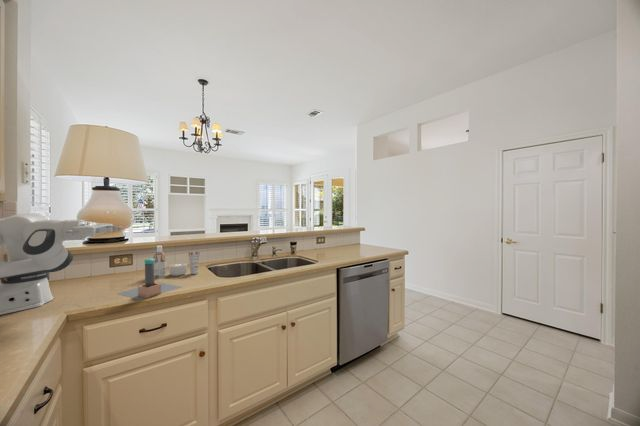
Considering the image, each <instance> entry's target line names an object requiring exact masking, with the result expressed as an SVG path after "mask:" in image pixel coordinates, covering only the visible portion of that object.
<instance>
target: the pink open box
mask: <svg viewBox="0 0 640 426" xmlns="http://www.w3.org/2000/svg"><path fill="white" fill-rule="evenodd" d="M137 288H138V296H141V297H145V298H146V299H148V297H149V298H152V297H155V296H159V295H162V294H161V284H159V283H158V282H154V286H150V287H145V283H144V284H140V285H138V286H137ZM154 295H155V296H154ZM151 296H152V297H151Z"/></svg>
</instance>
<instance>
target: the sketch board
mask: <svg viewBox="0 0 640 426" xmlns="http://www.w3.org/2000/svg"><path fill="white" fill-rule="evenodd" d="M157 283H159V284H161V294H160V295H162V294H164V293H168V292H170V291H174V290H178V289H180V288H182V286H181V285H175V284H171V283H166V282H161V281H159V282H157ZM117 294H118V295H121V296H124V297H128V298H132V299H134V300H139V301H143V300H146V299H148V298H152V297H155V296H156V295H154V296H151V297H148V298H145V297H141V296H138V287H137V288H132V289H128V290H125V291H121V292H118V293H117Z"/></svg>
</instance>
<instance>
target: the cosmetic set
mask: <svg viewBox="0 0 640 426" xmlns="http://www.w3.org/2000/svg"><path fill="white" fill-rule="evenodd" d="M187 253H188V259H189V269H190V270H189V271H190V275H197V274H198V273H199V259H200V253H201V250H189V251H187ZM152 259H154V262H155V263H154V278H164V277H166V276H167V256H166V254H165V253H164V251H163V246H162V245H157V246H156V252H155V254H154V256H153V258H152ZM168 267H169V270H168V271H169V274H170V275H171V276H173V277H175V276H176V277H179V276H184V275H185V274H186V273H187V270H188V264H187V263H186V262H185V263H183V262H180V263H172V264H170V265H169V266H168Z"/></svg>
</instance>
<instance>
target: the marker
mask: <svg viewBox="0 0 640 426" xmlns="http://www.w3.org/2000/svg"><path fill="white" fill-rule="evenodd" d="M154 263H155V262H154V259H153V258H146V259H144V284H145V287H150V286H154V283H155V277H154Z"/></svg>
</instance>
